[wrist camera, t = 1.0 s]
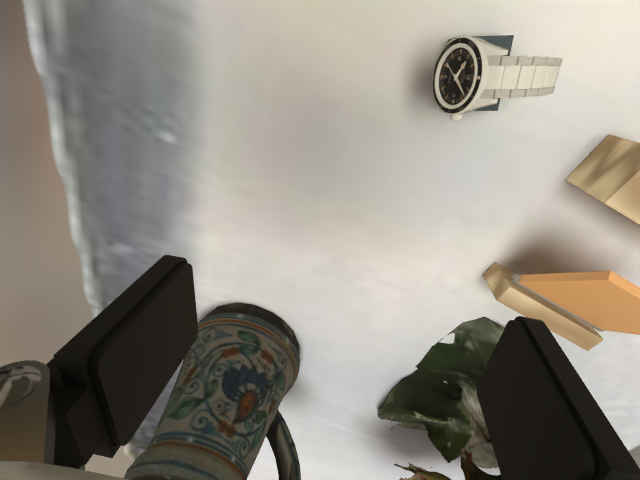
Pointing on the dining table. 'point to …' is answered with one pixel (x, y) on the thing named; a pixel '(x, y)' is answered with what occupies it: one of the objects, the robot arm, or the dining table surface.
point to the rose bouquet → (450, 400)
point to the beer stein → (227, 401)
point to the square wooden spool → (611, 189)
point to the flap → (589, 297)
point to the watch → (488, 74)
